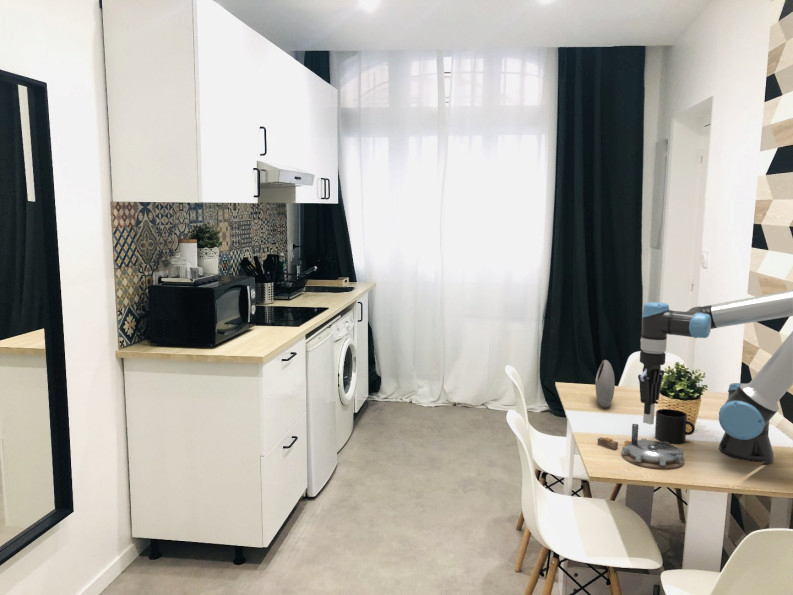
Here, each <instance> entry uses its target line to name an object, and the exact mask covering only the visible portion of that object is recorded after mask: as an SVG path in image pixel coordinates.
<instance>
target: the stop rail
mask: <svg viewBox="0 0 793 595" xmlns="http://www.w3.org/2000/svg"><path fill="white" fill-rule="evenodd" d="M597 446H600V447H603V448H606V449H609V450H612V451H617V450H618V448H619V442H618V441H616V440H613V438H611V437H610V438H609V437H598V438H597Z"/></svg>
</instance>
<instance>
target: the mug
mask: <svg viewBox="0 0 793 595" xmlns="http://www.w3.org/2000/svg"><path fill="white" fill-rule="evenodd" d="M687 425H690V427H691V430H690V431H687ZM695 428H696V427H695V425H694V424H693V422H691V421H688V414H687V413H686V412H684V411H682V410H677V409H671V408H662V409H661V408H660V409H658V410H656V411H655V428H654V437H655V439H656V440H657V441H659V442H663V441H665V442H669V444H683V443H685V442H686V440H687V439H686V438H687V437H686V436H690V435H693V433H695Z"/></svg>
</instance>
